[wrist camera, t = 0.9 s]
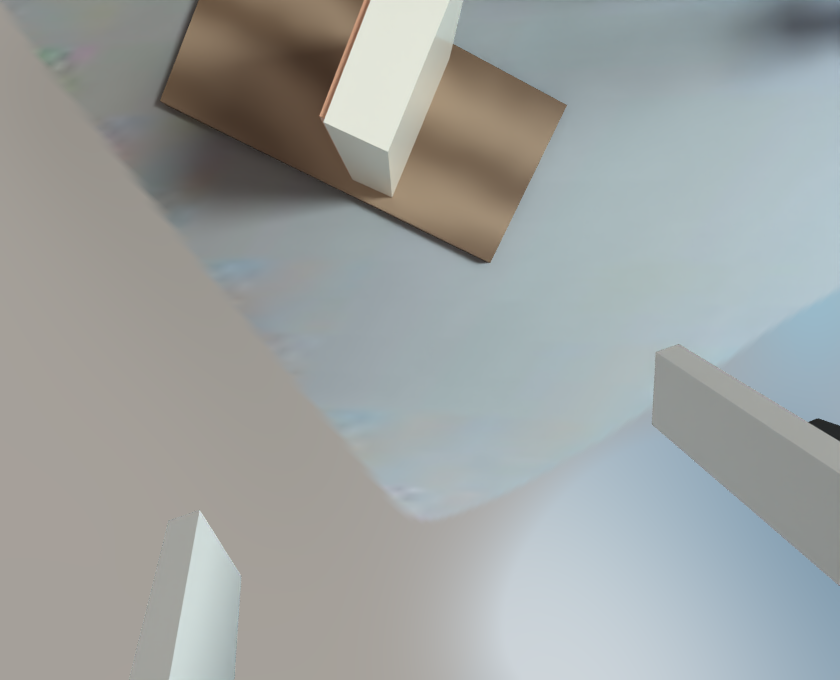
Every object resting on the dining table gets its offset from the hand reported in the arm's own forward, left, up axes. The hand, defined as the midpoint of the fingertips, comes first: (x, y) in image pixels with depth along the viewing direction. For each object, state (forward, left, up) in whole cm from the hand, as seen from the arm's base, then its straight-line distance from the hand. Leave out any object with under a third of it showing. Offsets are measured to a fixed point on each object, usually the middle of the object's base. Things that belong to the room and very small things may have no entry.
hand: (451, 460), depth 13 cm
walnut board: (-13, -10, -23) cm, 28 cm away
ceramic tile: (-13, -8, -22) cm, 27 cm away
